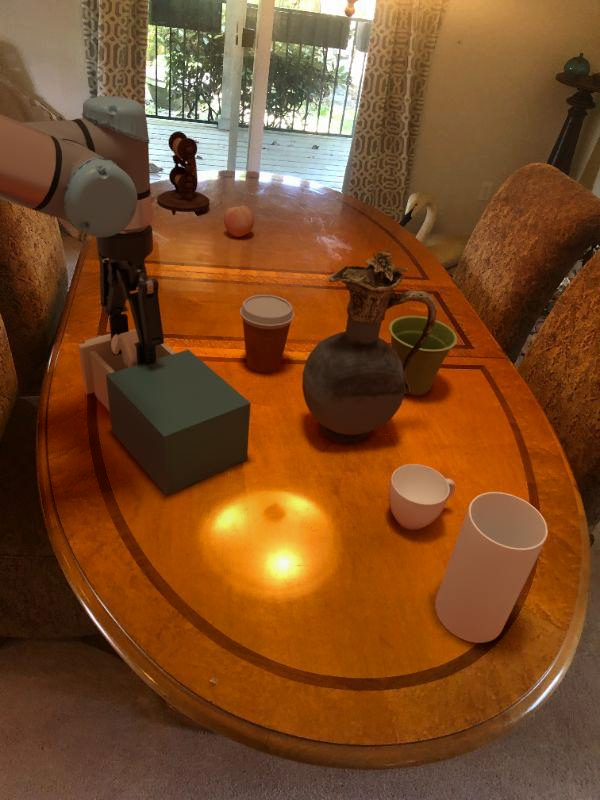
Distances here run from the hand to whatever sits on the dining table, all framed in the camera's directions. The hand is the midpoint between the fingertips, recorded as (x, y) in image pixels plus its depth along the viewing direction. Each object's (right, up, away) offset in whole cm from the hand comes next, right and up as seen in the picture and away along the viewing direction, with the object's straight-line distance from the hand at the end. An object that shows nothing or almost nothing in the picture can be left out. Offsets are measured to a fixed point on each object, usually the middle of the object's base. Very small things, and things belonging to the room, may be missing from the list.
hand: (134, 364), depth 97 cm
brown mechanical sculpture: (-7, +49, +80) cm, 95 cm away
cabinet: (+8, -12, -4) cm, 15 cm away
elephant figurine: (0, 0, 0) cm, 0 cm away
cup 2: (+46, -31, -23) cm, 60 cm away
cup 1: (+42, -22, -11) cm, 49 cm away
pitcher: (+35, -10, +4) cm, 37 cm away
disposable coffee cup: (+19, +1, +17) cm, 26 cm away
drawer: (-1, -5, +4) cm, 6 cm away
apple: (+10, +38, +67) cm, 78 cm away
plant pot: (+46, -3, +16) cm, 49 cm away
